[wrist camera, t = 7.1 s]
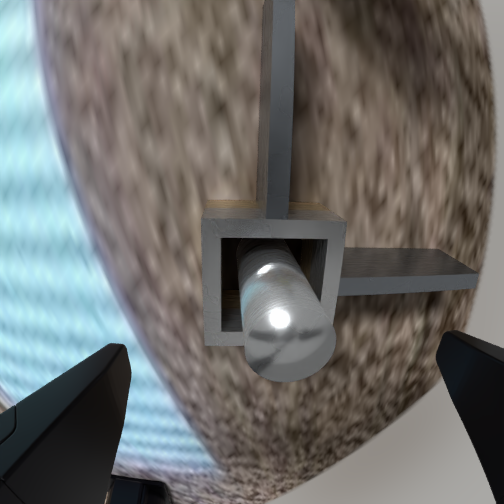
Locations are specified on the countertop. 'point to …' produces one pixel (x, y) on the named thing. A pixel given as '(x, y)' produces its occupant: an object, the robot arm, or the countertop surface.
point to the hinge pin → (280, 313)
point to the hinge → (302, 214)
